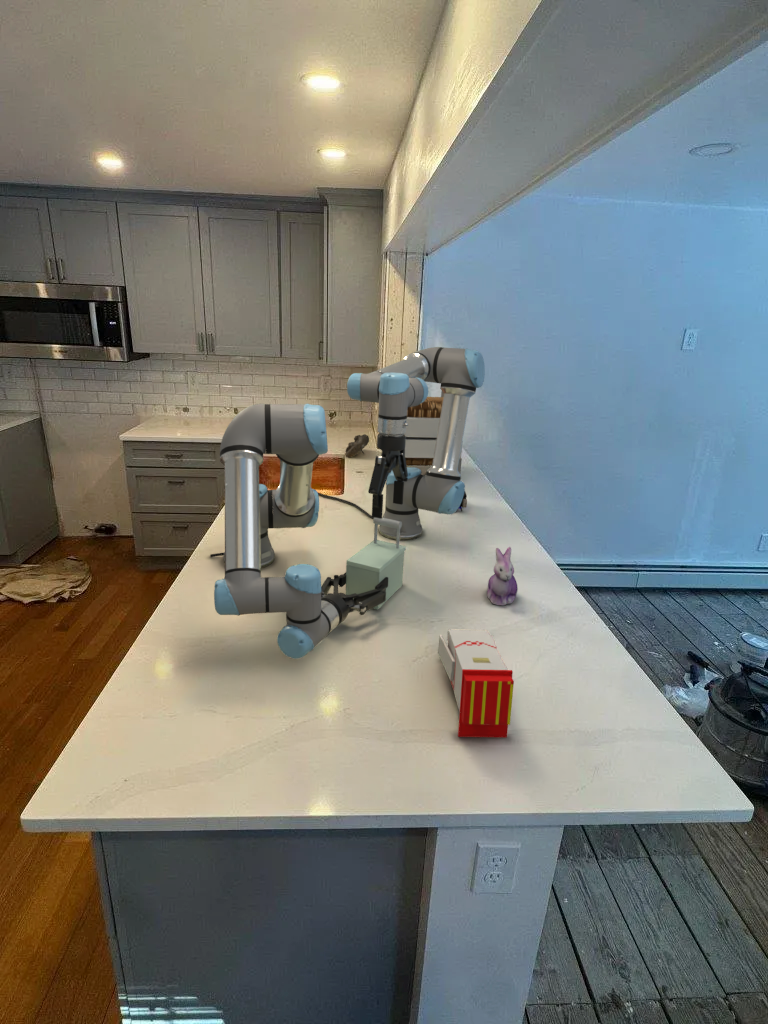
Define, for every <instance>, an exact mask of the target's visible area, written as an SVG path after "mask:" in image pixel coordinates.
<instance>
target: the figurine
mask: <svg viewBox="0 0 768 1024" xmlns="http://www.w3.org/2000/svg"><path fill="white" fill-rule="evenodd" d="M511 557H512V547H511V546H509V547H507V548H506V550H505V552H504V553H503V552H502V551H501V549H500V548H499V547H496V548H495V560H496V561H495V565H494V567H493V572H494V573H493V574H492V575H491V576H490V577H489V578H488V581H487V582H488V583H487V592H486V596H487V598H488V600H489V601H490V603H491V604H493V605H496V606H506V605H508V604H512V603H513V602H514V601H515V600H516V596H517V593H518V583H517V579H516V578H515V575H514V573H515V567H514V565H513V563H512V560H511Z"/></svg>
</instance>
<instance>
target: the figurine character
mask: <svg viewBox="0 0 768 1024" xmlns="http://www.w3.org/2000/svg"><path fill="white" fill-rule="evenodd" d="M467 495H468V494H467V493H466V491H465V492H464V496H463V499H462V502H461V504H460V506H459V508H458V509H459V510H460V512H463V509H464V508H465V509H466V508H467V506H468V499H467V497H468V496H467ZM458 509H457V510H458Z"/></svg>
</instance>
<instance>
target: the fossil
mask: <svg viewBox="0 0 768 1024" xmlns="http://www.w3.org/2000/svg"><path fill="white" fill-rule="evenodd" d="M353 440H354V441H350V442H348V444H347V445H348V446H347V447H346V449H345V453H344V455H345V457H346V458H352V457H355V456H356V455H358V454H359V453H361V452H362V454H363V455H364V454H365V453H364V451H363V450H364V449H365V447H367V446H368V444H369V443H370V436H369V435H368V434H365V433H364V434H362V435H361V434H357V435H355V436H354V437H353Z"/></svg>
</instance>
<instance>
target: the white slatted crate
mask: <svg viewBox="0 0 768 1024" xmlns="http://www.w3.org/2000/svg"><path fill="white" fill-rule="evenodd" d="M440 393H441V394H440V396H427V398H426V400H425V401H424V402H423V403H421V404H419V405H418V406H417V405H416V406H412V407H409V408H408V409H407V422H406V423H408V426H407V427H406V433H405V434H404V435H405V436H406V443H405V460H406V466H407V467H410V466H411V467H417V466H418V467H431V466H432V463H433V457H434V451H435V445H436V439H437V433H438V427H439V421H440V415H441V409H442V403H443V397H444V393H443V392H442V391H441V392H440ZM463 442H464V440H462V444H463ZM462 453H463V445H462V446H461V452H460V458H459V464H458V472H459V473H460V475H461V472H462V461H463V460H462Z"/></svg>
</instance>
